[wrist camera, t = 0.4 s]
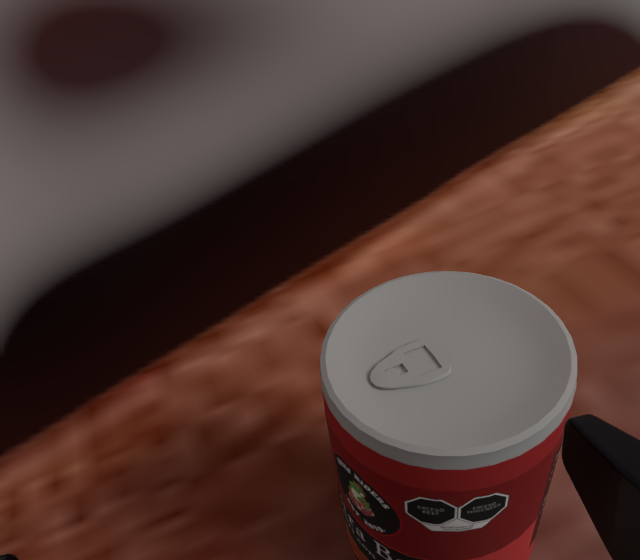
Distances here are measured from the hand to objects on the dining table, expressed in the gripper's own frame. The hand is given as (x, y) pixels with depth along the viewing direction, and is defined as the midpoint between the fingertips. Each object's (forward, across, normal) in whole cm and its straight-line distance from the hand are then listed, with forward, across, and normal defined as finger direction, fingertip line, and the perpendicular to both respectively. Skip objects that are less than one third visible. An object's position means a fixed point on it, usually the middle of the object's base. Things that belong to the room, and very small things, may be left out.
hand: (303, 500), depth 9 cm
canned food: (+10, -5, +15) cm, 18 cm away
